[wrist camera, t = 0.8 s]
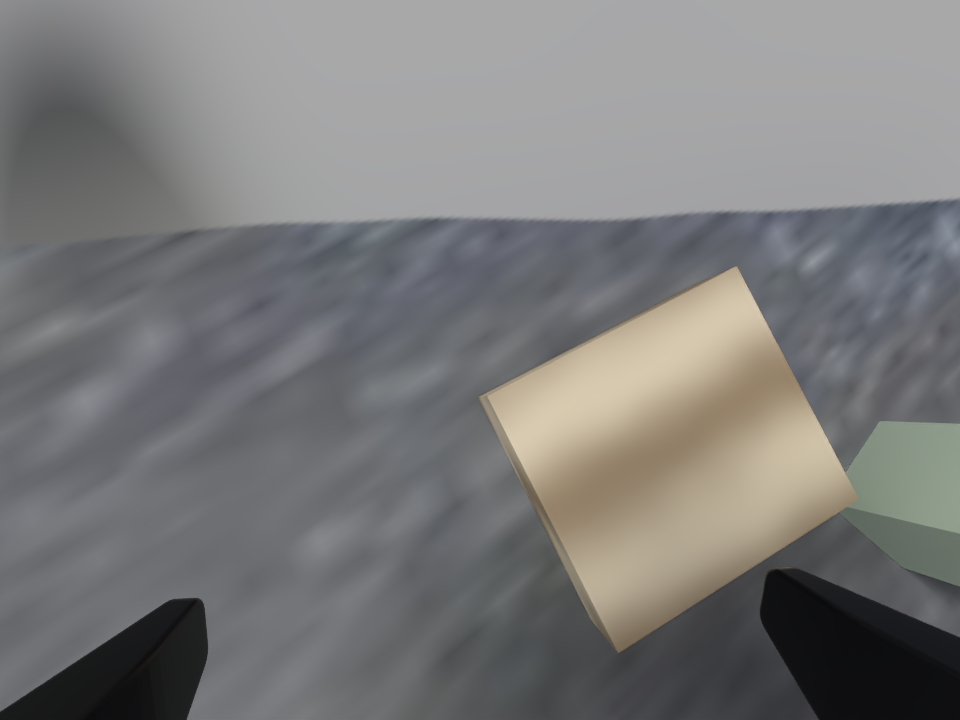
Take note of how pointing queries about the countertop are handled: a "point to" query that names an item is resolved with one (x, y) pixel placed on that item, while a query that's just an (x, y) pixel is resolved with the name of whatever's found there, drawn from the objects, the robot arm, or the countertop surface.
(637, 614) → the slab
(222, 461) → the countertop surface
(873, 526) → the tall block
